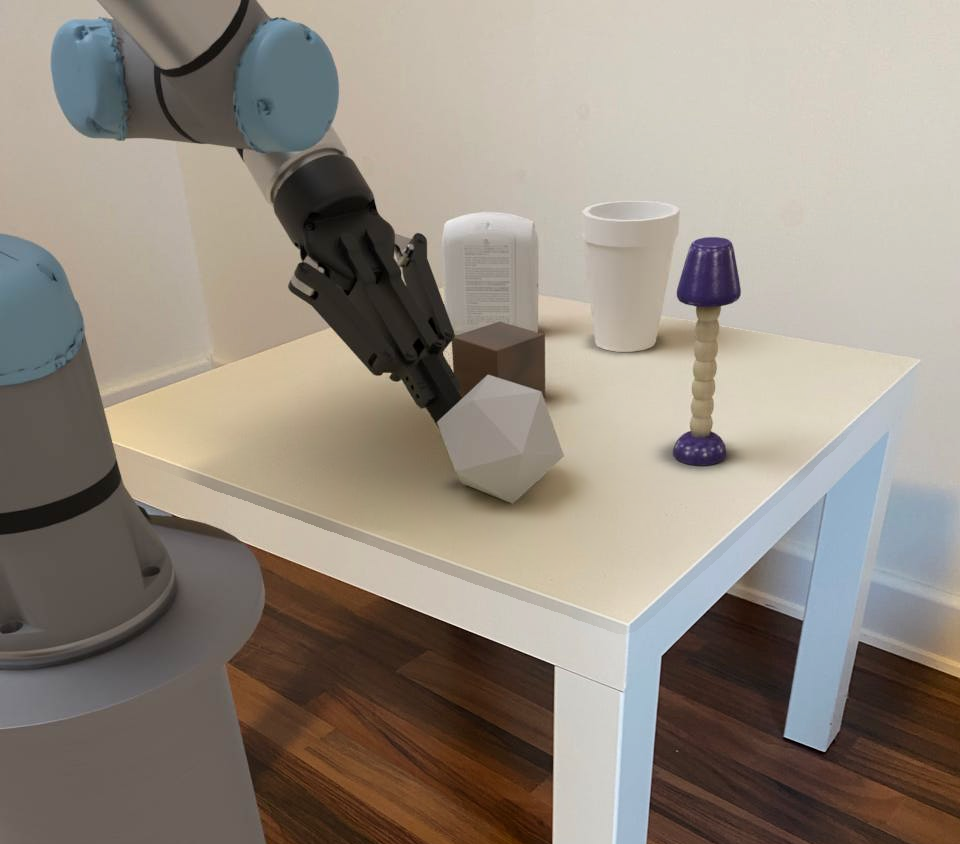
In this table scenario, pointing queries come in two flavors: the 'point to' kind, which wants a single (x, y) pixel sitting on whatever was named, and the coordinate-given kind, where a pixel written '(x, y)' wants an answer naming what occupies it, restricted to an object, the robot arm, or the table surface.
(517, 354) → the walnut block
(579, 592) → the table surface
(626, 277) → the foam cup
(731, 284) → the toy lamp
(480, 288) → the white boxy piece
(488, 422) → the die
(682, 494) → the table surface
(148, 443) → the table surface
